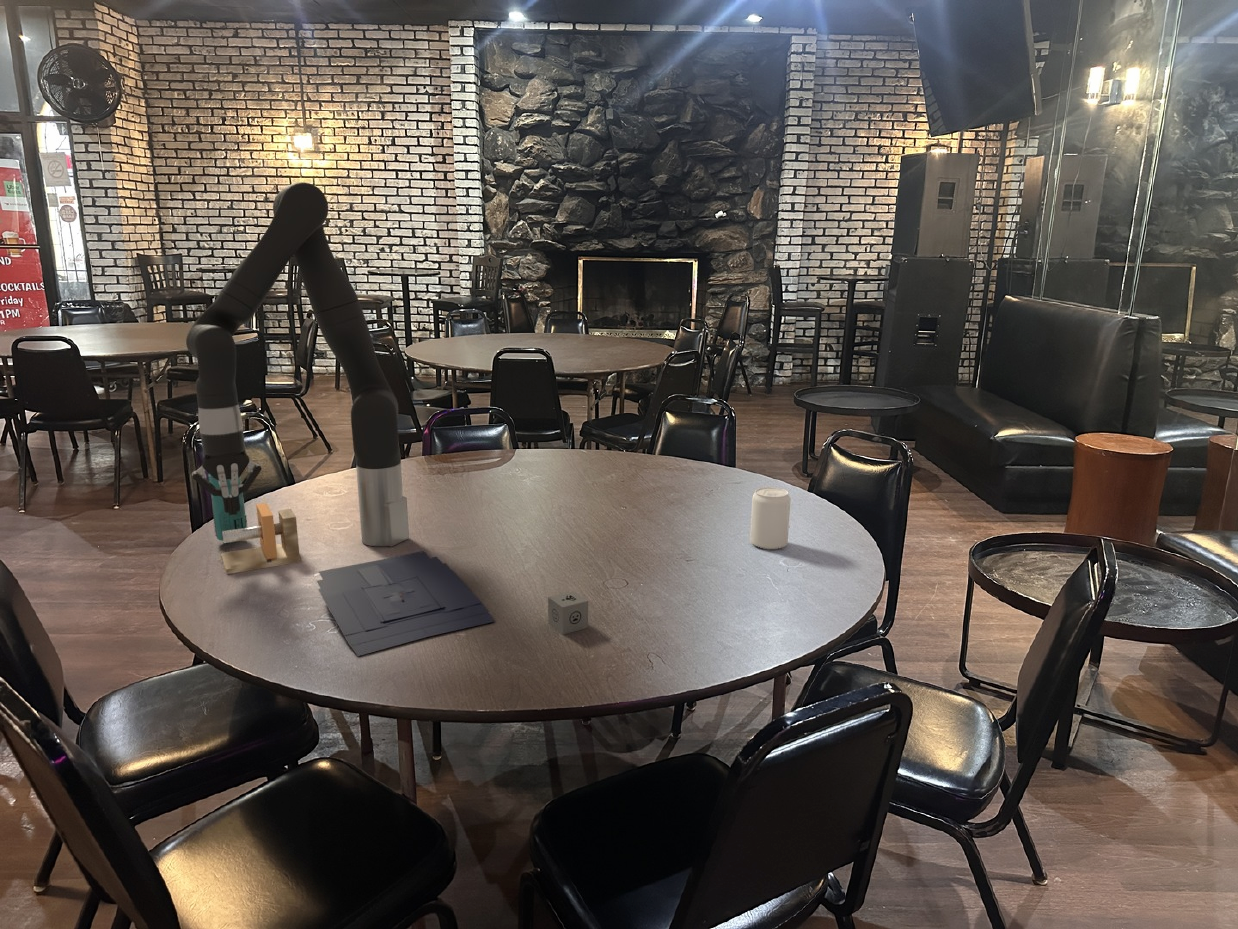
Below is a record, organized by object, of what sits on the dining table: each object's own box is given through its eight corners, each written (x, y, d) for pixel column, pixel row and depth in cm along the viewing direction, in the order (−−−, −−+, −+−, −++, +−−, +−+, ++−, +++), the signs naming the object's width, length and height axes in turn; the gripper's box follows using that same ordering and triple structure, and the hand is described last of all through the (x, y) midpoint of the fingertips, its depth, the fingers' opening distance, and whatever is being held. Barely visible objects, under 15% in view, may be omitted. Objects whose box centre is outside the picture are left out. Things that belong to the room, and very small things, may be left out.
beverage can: (791, 541, 185) (794, 489, 182) (782, 553, 178) (785, 499, 175) (755, 536, 188) (758, 484, 185) (745, 547, 181) (748, 494, 178)
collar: (266, 559, 168) (262, 516, 166) (260, 545, 176) (256, 504, 173) (277, 557, 169) (273, 515, 167) (270, 543, 176) (266, 503, 174)
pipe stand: (226, 574, 164) (221, 530, 162) (221, 557, 173) (216, 516, 170) (301, 561, 171) (297, 519, 169) (293, 546, 179) (289, 506, 177)
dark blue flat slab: (433, 561, 169) (433, 545, 168) (497, 634, 146) (497, 616, 145) (308, 586, 156) (307, 569, 155) (356, 671, 133) (355, 651, 132)
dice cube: (588, 627, 143) (588, 600, 142) (562, 635, 141) (562, 607, 139) (573, 617, 147) (573, 590, 146) (548, 623, 145) (548, 596, 143)
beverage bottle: (236, 549, 178) (226, 457, 172) (209, 546, 179) (197, 455, 174) (255, 538, 184) (246, 450, 179) (228, 536, 185) (218, 448, 180)
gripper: (255, 421, 169) (265, 503, 173) (182, 428, 162) (194, 514, 167) (261, 428, 162) (271, 513, 167) (184, 436, 156) (197, 524, 160)
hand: (232, 513), depth 167 cm, fingers closed
